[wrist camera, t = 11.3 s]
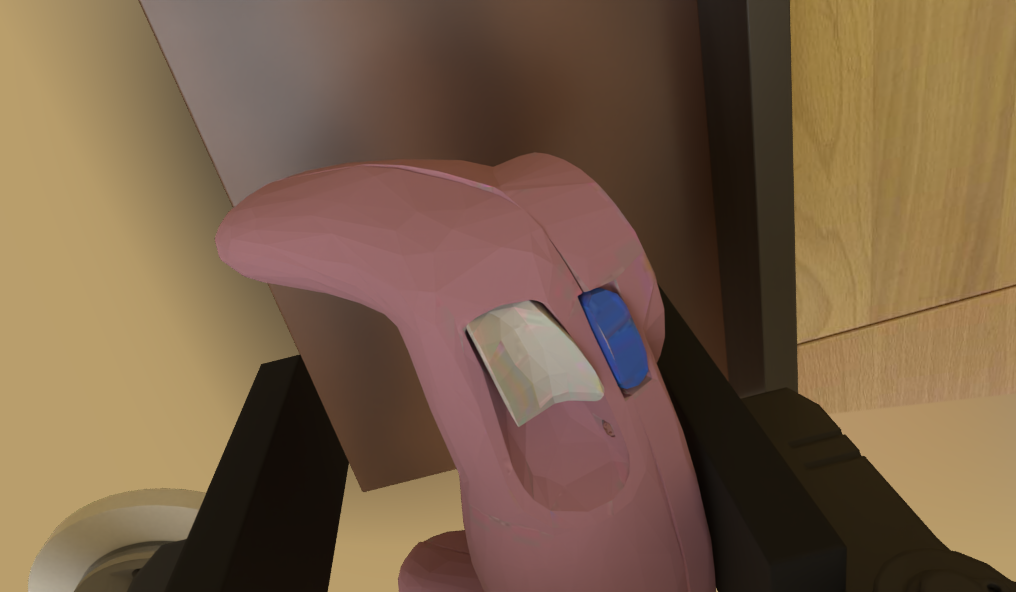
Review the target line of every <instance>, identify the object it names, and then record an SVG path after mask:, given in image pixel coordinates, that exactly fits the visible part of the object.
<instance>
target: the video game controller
mask: <svg viewBox="0 0 1016 592" xmlns="http://www.w3.org/2000/svg"><path fill="white" fill-rule="evenodd" d="M215 242H216V246H217V250H218V254H219V257H220V259H221V260H222V261H223V262H225V263H226V264H227V265H229V266H230V267H232V268H233V269H234V270H236V271H237V272H239V273H240V274H241V275H243V276H245V277H248V278H252V279H254V280H257V281H260V282H266V283H271V284H277V285H282V286H288V287H293V288H299V289H305V290H310V291H316V292H322V293H327V294H330V295H334V296H337V297H341V298H344V299H347V300H351V301H354V302H358V303H361V304H363V305H365V306H367V307H369V308H372V309H374V310H376V311H378V312H381V313H383V314H385V315H386V316H387V317H388V318H389V319H390V320H391V321H392V322H393V323H394V324H395V325H396V326H397V327H398V329H399V331H400V334H401V336H402V338H403V340H404V343H405V345H406V347H407V349H408V352H409V354H410V357H411V360H412V362H413V365H414V367H415V370H416V373H417V375H418V378H419V381H420V383H421V386H422V389H423V391H424V394H425V397H426V399H427V402H428V404H429V407H430V410H431V412H432V414H433V417H434V419H435V421H436V423H437V426H438V428H439V430H440V432H441V435H442V437H443V439H444V441H445V443H446V446H447V448H448V450H449V452H450V455H451V457H452V459H453V461H454V464H455V466H456V468H457V470H458V473H459V477H460V489H461V500H462V512H463V522H464V528H465V530H462V531H451V532H446V533H443V534H440V535H436V536H434V537H432V538H430V539H428V540H426V541H424V542H419V543H418V544H417V545H416V546H415V547H414V548H413V549H412V551H411V552H410V553H409V555H408V556H407V558H406V559H405V560H404V562H403V564H402V566H401V569H400V573H399V577H398V585H399V592H716V582H715V569H714V560H713V551H712V541H711V536H710V532H709V528H708V524H707V519H706V515H705V511H704V507H703V502H702V498H701V494H700V489H699V485H698V481H697V477H696V473H695V469H694V466H693V463H692V460H691V456H690V453H689V450H688V446H687V443H686V440H685V436H684V433H683V430H682V427H681V424H680V422H679V419H678V417H677V414H676V412H675V409H674V407H673V404H672V402H671V399H670V396H669V394H668V391H667V389H666V386H665V384H664V381H663V379H662V376H661V373H660V371H659V368H658V366H657V361H658V359H659V357H660V355H661V351H662V347H663V343H664V339H665V315H664V306H663V302H662V298H661V295H660V291H659V287H658V284H657V280H656V276H655V273H654V270H653V268H652V266H651V264H650V262H649V260H648V258H647V256H646V254H645V251H644V249H643V247H642V245H641V243H640V241H639V239H638V237H637V235H636V232H635V231H634V229H633V228H632V226H631V225H630V224H629V222H628V221H627V220H626V218H625V217H624V215H623V214H622V213H621V211H620V210H619V208H618V207H617V206H616V204H615V203H614V202H613V201H612V200H611V198H610V197H609V196H608V195H607V194H606V192H605V191H604V190H603V189H602V188H601V187H600V186H599V185H598V184H597V183H596V182H595V181H594V180H593V179H592V178H590V177H589V176H588V175H587V174H586V173H584V172H583V171H582V170H581V169H579V168H578V167H576V166H574V165H573V164H571V163H569V162H567V161H566V160H564V159H561V158H558V157H555V156H552V155H549V154H544V153H536V152H534V153H530V154H526V155H521V156H519V157H516V158H514V159H511V160H509V161H506V162H504V163H502V164H499V165H497V166H494V167H491V166H487V165H482V164H477V163H473V162H468V161H463V160H413V159H397V160H382V161H367V162H352V163H344V164H339V165H334V166H329V167H324V168H318V169H313V170H308V171H305V172H302V173H299V174H296V175H292V176H289V177H286V178H283V179H280V180H277V181H274V182H271V183H268V184H266V185H265V186H263V187H261V188H260V189H259V190H257V191H255V192H254V193H252V194H250V195H249V196H247V197H246V198H245V199H243V200H242V201H241V202H240V203H239V204H238V205H236V206H235V207H234V208H233V209H232V210H231V211H229V212H228V213H227V215H226V216H225V218H224V219H223V221H222V222H221V224H220V225H219V228H218V231H217V234H216V237H215Z"/></svg>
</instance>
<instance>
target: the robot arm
mask: <svg viewBox="0 0 1016 592" xmlns="http://www.w3.org/2000/svg"><path fill="white" fill-rule="evenodd" d="M657 284H658V283H657ZM658 287H659V291H660V295H661V298H662V302H663V306H664V315H665V339H664V343H663V347H662V351H661V355H660V357H659V359H658V361H657V366H658V368H659V371H660V373H661V376H662V379H663V381H664V384H665V386H666V389H667V391H668V394H669V396H670V399H671V402H672V404H673V407H674V409H675V412H676V414H677V417H678V419H679V422H680V424H681V427H682V430H683V433H684V436H685V440H686V443H687V446H688V450H689V453H690V456H691V460H692V463H693V466H694V469H695V473H696V477H697V481H698V485H699V489H700V494H701V498H702V502H703V507H704V511H705V515H706V519H707V524H708V528H709V532H710V536H711V541H712V551H713V560H714V569H715V582H716V588H717V591H718V592H1016V582H1014V581H1011V580H1010V579H1008V578H1006V577H1005V576H1004V575H1002V574H1001V573H1000V572H998V571H997V570H995V569H994V568H992V567H991V566H990V565H988V564H987V563H984V562H982V561H979V560H976V559H974V558H972V557H969V556H967V555H964V554H962V553H959V552H956V551H951V550H949V548H947V547H946V546H945V545H944V544H943V543H942V542H941V541H940V540H939V539H938V538H937V537H936V536H935V535H934V534H933V533H932V532H931V530H930V529H929V528H928V527H927V526H926V525H925V524H924V523H923V521H922V520H921V519H920V518H919V517H918V516H917V515H916V514H915V513H914V511H913V510H912V509H911V508H910V507H909V506H908V505H907V503H906V502H905V501H904V500H903V499H902V498H901V497H900V496H899V494H898V493H897V492H896V491H895V490H894V489H893V488H892V487H891V486H890V484H889V483H888V482H887V481H886V480H885V479H884V478H883V476H882V475H881V474H880V473H879V472H878V471H877V470H876V469H875V467H874V466H873V465H872V464H871V463H870V462H869V461H868V459H866V457H865V456H861V454H860V452H859V449H858V448H857V447H856V446H855V445H854V444H853V443H852V441H851V440H850V439H849V438H848V437H847V436H846V435H843V434H842V432H841V429H840V428H839V427H838V426H837V425H836V423H835V422H834V421H833V420H832V419H831V418H830V417H829V416H828V414H827V413H826V412H825V411H824V410H823V409H822V408H821V407H820V405H819V404H817V403H815V402H813V401H811V400H809V399H808V398H806V397H804V396H802V395H800V394H798V393H797V392H795V391H793V390H791V389H789V388H787V387H785V388H781V389H777V390H773V391H769V392H765V393H761V394H757V395H753V396H749V397H745V398H741V399H740V397H739V396H738V394H737V393H736V392H735V390H734V389H733V387H732V386H731V385H730V383H729V382H728V381H727V379H726V378H725V376H724V375H723V374H722V372H721V371H720V369H719V368H718V367H717V365H716V364H715V362H714V361H713V360H712V358H711V357H710V355H709V354H708V353H707V351H706V350H705V348H704V347H703V346H702V344H701V343H700V342H699V340H698V339H697V337H696V336H695V335H694V333H693V332H692V330H691V329H690V328H689V326H688V325H687V323H686V322H685V321H684V319H683V318H682V316H681V315H680V314H679V312H678V311H677V309H676V308H675V307H674V305H673V304H672V303H671V301H670V300H669V298H668V297H667V296H666V294H665V293H664V291H663V290H662V289H661V287H660V286H659V284H658ZM348 465H349V461H348V459H347V457H346V455H345V452H344V450H343V448H342V446H341V444H340V441H339V439H338V437H337V435H336V432H335V430H334V428H333V426H332V424H331V421H330V419H329V417H328V415H327V412H326V410H325V408H324V406H323V404H322V401H321V399H320V397H319V395H318V392H317V390H316V388H315V386H314V384H313V381H312V379H311V377H310V375H309V372H308V370H307V368H306V366H305V364H304V361H303V359H302V357H301V355H296V356H292V357H288V358H284V359H280V360H277V361H272V362H269V363H264V364H261V366H260V369H259V371H258V373H257V376H256V378H255V380H254V383H253V385H252V387H251V390H250V392H249V394H248V397H247V399H246V401H245V404H244V406H243V408H242V411H241V413H240V416H239V418H238V420H237V422H236V425H235V427H234V429H233V432H232V434H231V436H230V439H229V441H228V443H227V446H226V448H225V450H224V453H223V455H222V457H221V460H220V462H219V465H218V467H217V469H216V471H215V474H214V476H213V478H212V481H211V483H210V485H209V488H208V490H207V493H206V495H205V497H204V499H203V502H202V504H201V506H200V509H199V511H198V513H197V516H196V518H195V521H194V523H193V525H192V528H191V530H190V532H189V535H188V537H187V539H184V540H180V541H148V542H140V543H135V544H131V545H127V546H124V547H121V548H118V549H115V550H113V551H111V552H109V553H107V554H105V555H104V556H102V557H100V558H99V559H98V560H96V561H95V562H94V563H93V564H92V565H91V566H90V567H89V568H88V569H87V570H86V572H85V573H84V575H83V577H82V578H81V580H80V582H79V584H78V585H77V587H76V589H75V590H74V592H328V586H329V580H330V573H331V568H332V562H333V556H334V550H335V544H336V538H337V532H338V525H339V519H340V513H341V507H342V501H343V495H344V489H345V483H346V477H347V471H348Z"/></svg>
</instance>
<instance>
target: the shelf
mask: <svg viewBox="0 0 1016 592" xmlns="http://www.w3.org/2000/svg"><path fill="white" fill-rule="evenodd" d="M139 3H140V5H141V7H142V9H143V11H144V14H145V16H146V18H147V20H148V22H149V24H150V27H151V29H152V31H153V33H154V36H155V38H156V40H157V42H158V44H159V47H160V49H161V51H162V53H163V55H164V57H165V60H166V62H167V64H168V66H169V68H170V71H171V73H172V75H173V77H174V79H175V82H176V84H177V86H178V88H179V90H180V93H181V95H182V97H183V99H184V101H185V104H186V106H187V108H188V110H189V112H190V115H191V117H192V119H193V121H194V123H195V126H196V128H197V130H198V132H199V134H200V136H201V139H202V141H203V143H204V145H205V147H206V150H207V152H208V154H209V156H210V158H211V161H212V163H213V165H214V167H215V169H216V171H217V174H218V176H219V178H220V180H221V182H222V185H223V187H224V188H225V191H226V194H227V196H228V198H229V200H230V202H231V204H232V207H233V208H234V207H235V206H236V205H238V204H239V203H240V202H241V201H242V200H243V199H245V198H246V197H247V196H249V195H250V194H252V193H254V192H255V191H257V190H259V189H260V188H261V187H263V186H265V185H266V184H268V183H271V182H274V181H277V180H280V179H283V178H286V177H289V176H292V175H296V174H299V173H302V172H305V171H308V170H313V169H318V168H324V167H329V166H334V165H339V164H344V163H352V162H367V161H382V160H397V159H413V160H463V161H468V162H473V163H477V164H482V165H487V166H491V167H494V166H497V165H499V164H502V163H504V162H506V161H509V160H511V159H514V158H516V157H519V156H521V155H526V154H530V153H534V152H536V153H544V154H549V155H552V156H555V157H558V158H561V159H564V160H566V161H567V162H569V163H571V164H573V165H574V166H576V167H578V168H579V169H581V170H582V171H583V172H584V173H586V174H587V175H588V176H589V177H590V178H592V179H593V180H594V181H595V182H596V183H597V184H598V185H599V186H600V187H601V188H602V189H603V190H604V191H605V192H606V194H607V195H608V196H609V197H610V198H611V200H612V201H613V202H614V203H615V204H616V206H617V207H618V208H619V210H620V211H621V213H622V214H623V215H624V217H625V218H626V220H627V221H628V222H629V224H630V225H631V226H632V228H633V229H634V231H635V232H636V235H637V237H638V239H639V241H640V243H641V245H642V247H643V249H644V251H645V254H646V256H647V258H648V260H649V262H650V264H651V266H652V268H653V270H654V273H655V276H656V280H657V283H658V284H659V286H660V287H661V289H662V290H663V291H664V293H665V294H666V296H667V297H668V298H669V300H670V301H671V303H672V304H673V305H674V307H675V308H676V309H677V311H678V312H679V314H680V315H681V316H682V318H683V319H684V321H685V322H686V323H687V325H688V326H689V328H690V329H691V330H692V332H693V333H694V335H695V336H696V337H697V339H698V340H699V342H700V343H701V344H702V346H703V347H704V348H705V350H706V351H707V353H708V354H709V355H710V357H711V358H712V360H713V361H714V362H715V364H716V365H717V367H718V368H719V369H720V371H721V372H722V374H723V375H724V376H725V378H726V379H727V381H728V382H729V383H730V385H731V386H732V387H733V389H734V390H735V392H736V393H737V394H738V396H739V397H740V399H741V398H745V397H749V396H753V395H757V394H761V393H765V392H769V391H773V390H777V389H781V388H785V387H787V388H789V389H791V390H793V391H795V392H797V393H798V366H797V319H796V271H795V224H794V176H793V129H792V81H791V34H790V0H139ZM268 286H269V288H270V290H271V292H272V294H273V297H274V299H275V301H276V303H277V305H278V307H279V310H280V312H281V314H282V316H283V318H284V321H285V323H286V325H287V327H288V329H289V332H290V334H291V336H292V338H293V340H294V343H295V345H296V347H297V349H298V351H299V353H300V355H301V357H302V359H303V361H304V364H305V366H306V368H307V370H308V372H309V375H310V377H311V379H312V381H313V384H314V386H315V388H316V390H317V392H318V395H319V397H320V399H321V401H322V404H323V406H324V408H325V410H326V412H327V415H328V417H329V419H330V421H331V424H332V426H333V428H334V430H335V432H336V435H337V437H338V439H339V441H340V444H341V446H342V448H343V450H344V452H345V454H346V457H347V459H348V461H349V463H350V465H351V468H352V470H353V472H354V474H355V476H356V479H357V481H358V483H359V485H360V487H361V490H362V491H363V492H366V491H370V490H374V489H378V488H382V487H386V486H390V485H394V484H398V483H402V482H406V481H410V480H414V479H418V478H422V477H426V476H430V475H434V474H438V473H441V472H446V471H450V470H454V469H457V468H456V466H455V464H454V461H453V459H452V457H451V455H450V452H449V450H448V448H447V446H446V443H445V441H444V439H443V437H442V435H441V432H440V430H439V428H438V426H437V423H436V421H435V419H434V417H433V414H432V412H431V410H430V407H429V404H428V402H427V399H426V397H425V394H424V391H423V389H422V386H421V383H420V381H419V378H418V375H417V373H416V370H415V367H414V365H413V362H412V360H411V357H410V354H409V352H408V349H407V347H406V345H405V343H404V340H403V338H402V336H401V334H400V331H399V329H398V327H397V326H396V325H395V324H394V323H393V322H392V321H391V320H390V319H389V318H388V317H387V316H386V315H385V314H383V313H381V312H378V311H376V310H374V309H372V308H369V307H367V306H365V305H363V304H361V303H358V302H354V301H351V300H347V299H344V298H341V297H337V296H334V295H330V294H327V293H322V292H316V291H310V290H305V289H299V288H293V287H288V286H282V285H277V284H271V283H268Z"/></svg>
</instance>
